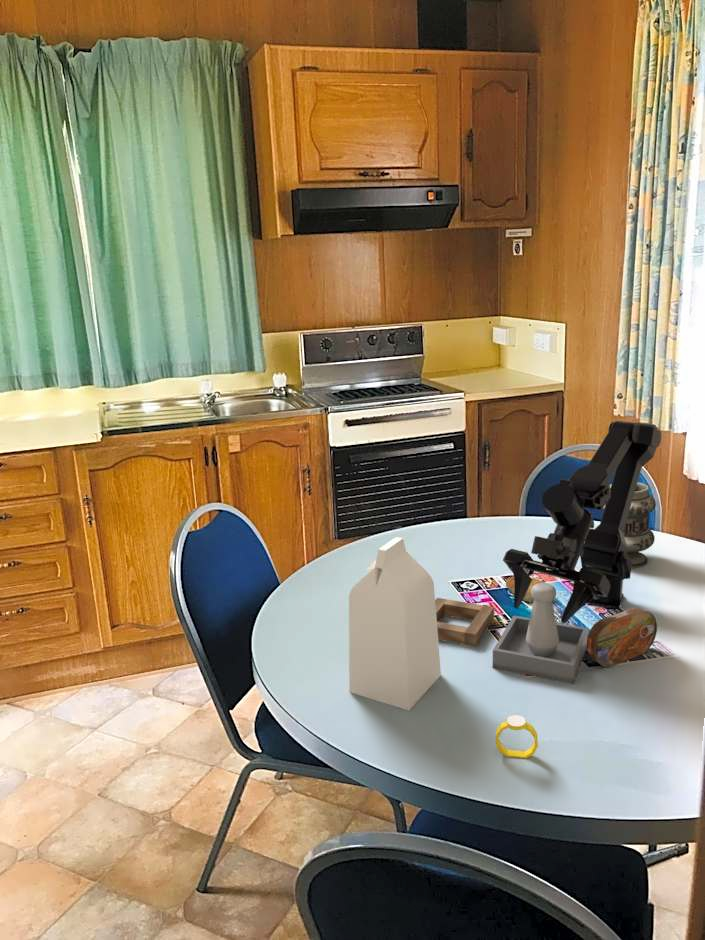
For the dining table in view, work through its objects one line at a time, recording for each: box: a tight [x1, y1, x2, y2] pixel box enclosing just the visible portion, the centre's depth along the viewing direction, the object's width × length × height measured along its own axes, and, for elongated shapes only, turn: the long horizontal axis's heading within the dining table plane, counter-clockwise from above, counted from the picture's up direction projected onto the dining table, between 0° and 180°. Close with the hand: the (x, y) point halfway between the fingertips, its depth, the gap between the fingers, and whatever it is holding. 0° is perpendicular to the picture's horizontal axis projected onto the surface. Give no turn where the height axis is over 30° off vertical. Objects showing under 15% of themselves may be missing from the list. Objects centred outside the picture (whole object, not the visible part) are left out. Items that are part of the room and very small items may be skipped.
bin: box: [492, 615, 590, 685], centre depth 138 cm, size 14×14×4 cm
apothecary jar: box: [602, 481, 657, 569], centre depth 175 cm, size 12×12×18 cm
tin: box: [586, 607, 658, 668], centre depth 136 cm, size 15×3×8 cm, turn 117°
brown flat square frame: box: [435, 597, 495, 647], centre depth 150 cm, size 12×12×2 cm
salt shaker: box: [526, 582, 559, 658], centre depth 137 cm, size 6×6×13 cm
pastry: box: [505, 576, 546, 603], centre depth 164 cm, size 9×7×4 cm
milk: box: [348, 536, 442, 711], centre depth 129 cm, size 12×12×26 cm
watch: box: [495, 715, 539, 759], centre depth 112 cm, size 6×3×6 cm, turn 78°
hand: (538, 614), depth 135 cm, fingers open, 9 cm apart
